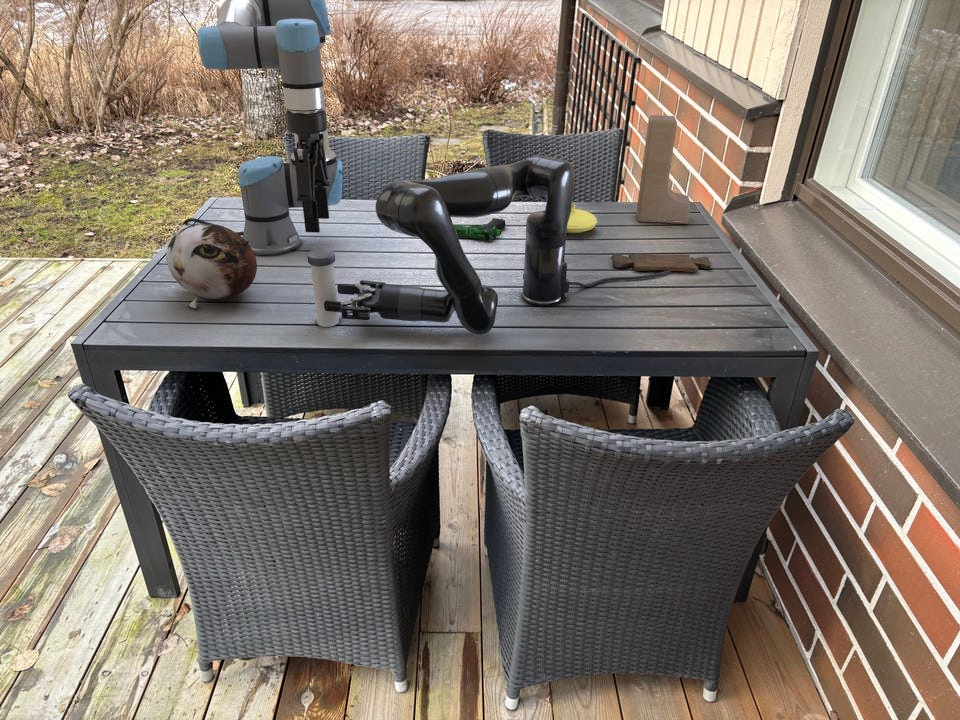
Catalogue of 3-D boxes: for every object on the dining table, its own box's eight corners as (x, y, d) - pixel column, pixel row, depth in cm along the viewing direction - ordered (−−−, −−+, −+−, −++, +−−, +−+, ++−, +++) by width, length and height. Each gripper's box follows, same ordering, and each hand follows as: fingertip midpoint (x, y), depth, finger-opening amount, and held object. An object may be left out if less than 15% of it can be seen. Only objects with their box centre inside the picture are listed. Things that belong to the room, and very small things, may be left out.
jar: (322, 328, 156) (314, 261, 148) (314, 320, 159) (306, 253, 151) (342, 323, 158) (336, 256, 150) (334, 315, 162) (327, 249, 153)
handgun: (511, 219, 210) (493, 234, 198) (511, 228, 211) (492, 244, 199) (461, 212, 215) (440, 226, 203) (461, 221, 217) (440, 236, 204)
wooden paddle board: (715, 274, 184) (705, 259, 193) (716, 268, 183) (706, 253, 192) (615, 271, 185) (610, 256, 193) (615, 265, 184) (610, 250, 192)
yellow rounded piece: (559, 216, 220) (561, 193, 217) (605, 227, 212) (608, 204, 209) (532, 230, 209) (533, 207, 206) (580, 242, 201) (582, 218, 198)
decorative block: (687, 224, 215) (705, 122, 200) (637, 221, 217) (650, 120, 202) (685, 216, 222) (701, 116, 206) (636, 213, 223) (648, 114, 208)
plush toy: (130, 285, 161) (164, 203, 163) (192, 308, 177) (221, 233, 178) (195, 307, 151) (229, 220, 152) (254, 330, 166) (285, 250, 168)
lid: (313, 268, 148) (312, 260, 147) (304, 259, 152) (303, 251, 151) (339, 263, 151) (338, 255, 150) (329, 254, 155) (328, 246, 154)
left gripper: (300, 98, 144) (312, 208, 156) (269, 121, 127) (285, 242, 139) (336, 99, 144) (346, 209, 156) (311, 122, 127) (324, 243, 138)
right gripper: (411, 273, 157) (340, 267, 159) (394, 301, 145) (318, 295, 147) (412, 304, 161) (343, 298, 163) (396, 334, 149) (321, 327, 151)
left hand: (317, 224), depth 147 cm, fingers open, 7 cm apart
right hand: (331, 296), depth 155 cm, fingers open, 8 cm apart
